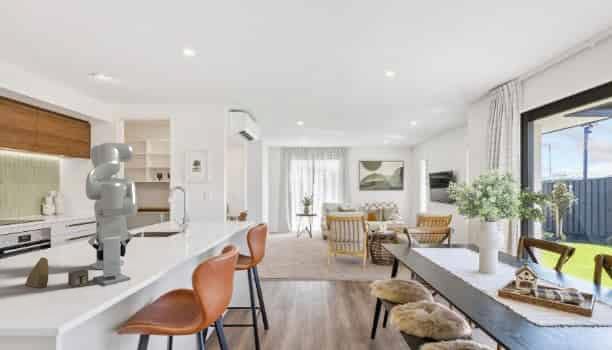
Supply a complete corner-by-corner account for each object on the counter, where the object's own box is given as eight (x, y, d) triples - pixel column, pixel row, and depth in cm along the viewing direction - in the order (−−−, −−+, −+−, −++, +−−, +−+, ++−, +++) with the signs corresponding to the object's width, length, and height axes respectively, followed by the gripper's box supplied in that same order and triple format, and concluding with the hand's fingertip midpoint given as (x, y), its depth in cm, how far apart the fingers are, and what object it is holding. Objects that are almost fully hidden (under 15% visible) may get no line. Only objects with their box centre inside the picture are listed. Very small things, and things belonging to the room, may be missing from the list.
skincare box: (121, 275, 125) (121, 237, 125) (102, 277, 122) (103, 238, 122) (119, 270, 132) (119, 234, 132) (102, 272, 129) (102, 235, 129)
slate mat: (92, 280, 127) (92, 277, 127) (117, 274, 134) (117, 272, 134) (105, 285, 119) (105, 283, 119) (130, 279, 127) (130, 277, 127)
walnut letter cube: (68, 285, 121) (68, 271, 121) (83, 281, 125) (83, 268, 125) (73, 288, 118) (73, 274, 118) (88, 284, 122) (88, 271, 122)
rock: (55, 280, 119) (60, 270, 128) (37, 264, 116) (43, 255, 125) (26, 301, 116) (33, 289, 124) (6, 285, 113) (15, 274, 121)
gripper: (90, 216, 118) (90, 264, 118) (138, 212, 132) (138, 255, 131) (82, 214, 122) (82, 261, 122) (130, 211, 136) (130, 252, 136)
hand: (111, 257), depth 127 cm, fingers closed on skincare box, 7 cm apart
